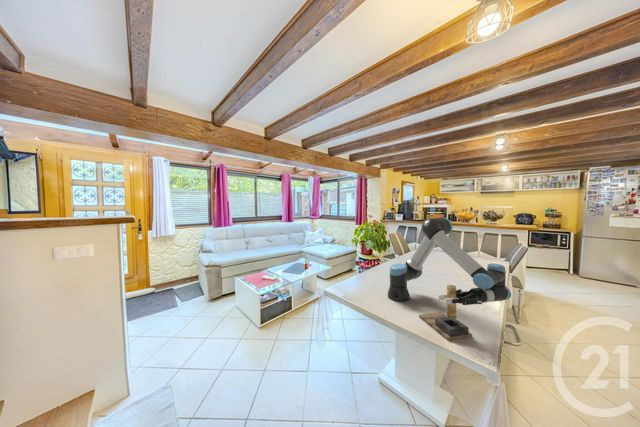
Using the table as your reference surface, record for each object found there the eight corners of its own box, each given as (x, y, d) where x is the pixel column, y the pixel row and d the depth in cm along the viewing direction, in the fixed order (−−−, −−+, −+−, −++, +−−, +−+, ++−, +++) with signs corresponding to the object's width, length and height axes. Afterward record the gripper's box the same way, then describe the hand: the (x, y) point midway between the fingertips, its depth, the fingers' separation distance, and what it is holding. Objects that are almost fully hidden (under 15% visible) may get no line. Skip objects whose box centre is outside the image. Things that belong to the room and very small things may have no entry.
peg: (445, 315, 110) (445, 285, 110) (452, 314, 111) (451, 284, 110) (451, 318, 106) (451, 287, 106) (458, 318, 107) (457, 287, 106)
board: (419, 317, 124) (419, 309, 124) (440, 314, 126) (440, 306, 126) (447, 340, 102) (447, 330, 102) (472, 337, 105) (472, 327, 105)
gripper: (497, 309, 103) (455, 314, 99) (467, 295, 120) (430, 299, 116) (497, 294, 103) (455, 299, 99) (467, 282, 120) (430, 286, 116)
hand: (442, 299), depth 107 cm, fingers closed on peg, 4 cm apart
